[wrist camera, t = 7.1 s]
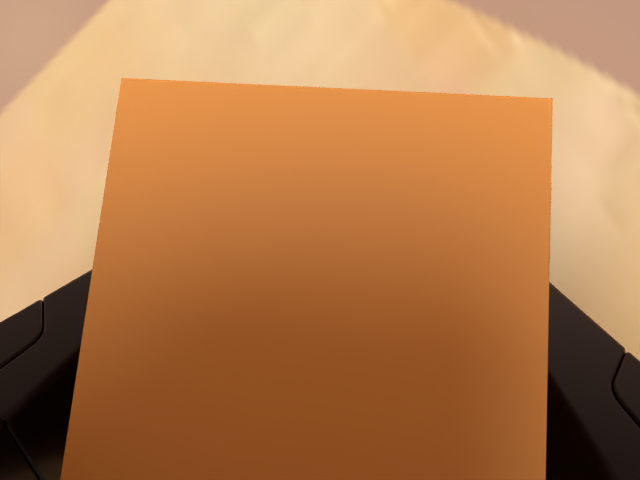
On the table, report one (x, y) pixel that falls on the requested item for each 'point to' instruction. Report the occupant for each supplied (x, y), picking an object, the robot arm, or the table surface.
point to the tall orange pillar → (317, 287)
